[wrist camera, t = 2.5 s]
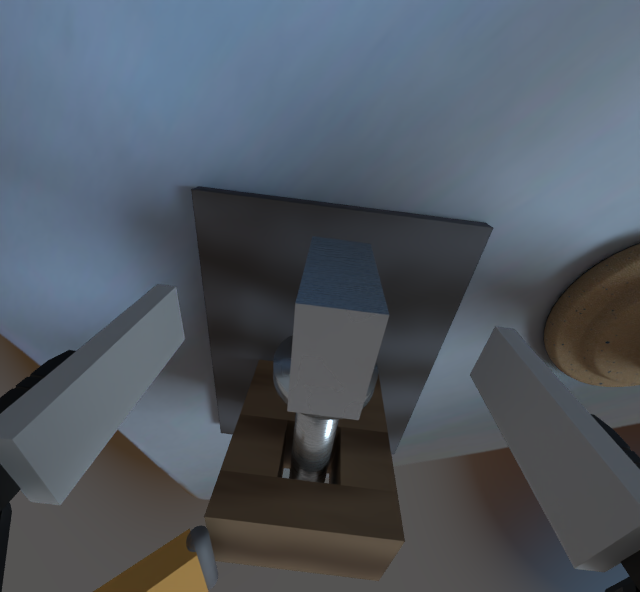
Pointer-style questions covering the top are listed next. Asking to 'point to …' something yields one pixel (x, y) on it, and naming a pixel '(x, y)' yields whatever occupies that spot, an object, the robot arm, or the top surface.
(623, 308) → the candle holder
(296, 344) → the lynch pin
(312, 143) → the top surface
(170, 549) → the plate
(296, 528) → the hitch block
